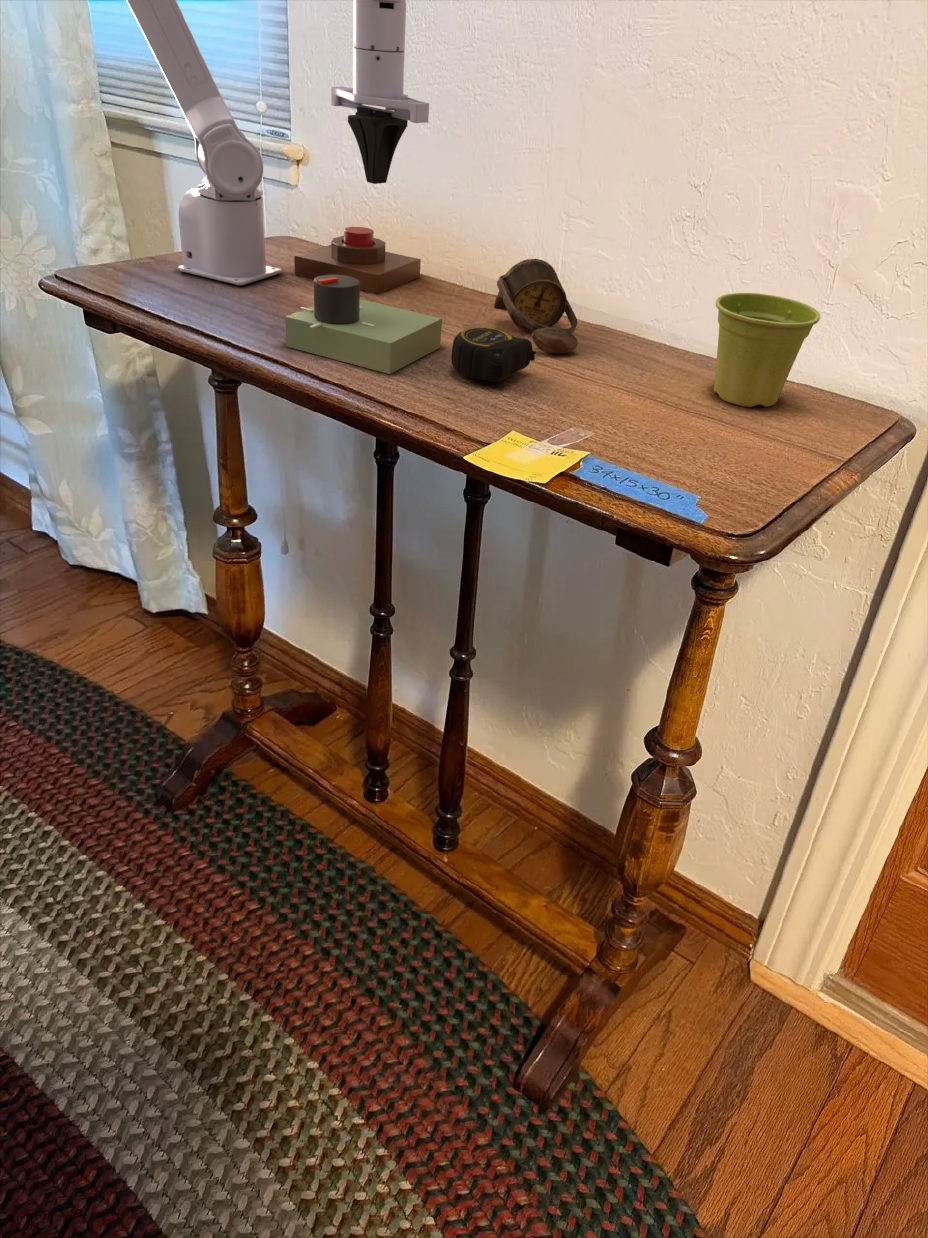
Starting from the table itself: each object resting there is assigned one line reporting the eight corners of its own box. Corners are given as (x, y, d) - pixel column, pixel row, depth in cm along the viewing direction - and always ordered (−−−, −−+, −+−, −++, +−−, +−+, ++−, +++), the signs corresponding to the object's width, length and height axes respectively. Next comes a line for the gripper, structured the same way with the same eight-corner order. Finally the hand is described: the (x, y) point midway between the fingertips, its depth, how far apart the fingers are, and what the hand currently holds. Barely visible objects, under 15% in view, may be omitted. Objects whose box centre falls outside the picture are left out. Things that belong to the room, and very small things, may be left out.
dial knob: (339, 307, 93) (339, 268, 91) (368, 319, 91) (369, 279, 89) (304, 314, 91) (304, 274, 88) (334, 326, 88) (334, 286, 86)
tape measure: (497, 394, 86) (501, 354, 83) (436, 375, 88) (438, 336, 86) (533, 375, 90) (538, 337, 88) (474, 357, 93) (477, 320, 91)
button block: (294, 274, 113) (293, 239, 111) (340, 259, 121) (340, 226, 118) (378, 293, 109) (378, 258, 107) (420, 277, 117) (421, 243, 114)
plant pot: (778, 424, 85) (805, 329, 80) (681, 397, 89) (702, 305, 84) (805, 396, 92) (831, 307, 87) (714, 372, 95) (734, 286, 90)
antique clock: (594, 274, 103) (509, 244, 102) (598, 294, 92) (503, 260, 91) (570, 337, 106) (488, 308, 106) (572, 364, 95) (480, 332, 94)
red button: (337, 244, 112) (338, 229, 111) (354, 239, 115) (354, 224, 114) (363, 250, 111) (363, 234, 110) (379, 245, 114) (379, 230, 113)
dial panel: (275, 349, 91) (274, 316, 89) (340, 322, 99) (340, 292, 97) (382, 378, 87) (383, 344, 85) (440, 347, 95) (442, 316, 93)
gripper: (450, 56, 102) (443, 190, 109) (362, 43, 109) (360, 169, 117) (404, 56, 97) (400, 195, 105) (315, 42, 105) (317, 173, 113)
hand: (376, 182), depth 111 cm, fingers closed
